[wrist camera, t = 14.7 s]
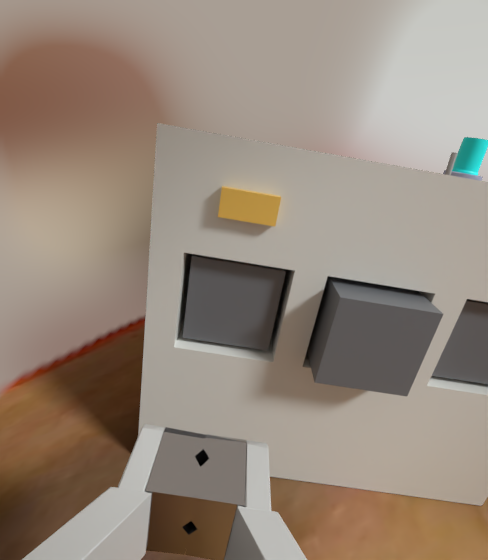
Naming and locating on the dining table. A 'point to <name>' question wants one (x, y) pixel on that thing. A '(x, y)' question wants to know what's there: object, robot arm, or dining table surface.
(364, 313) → the key middle
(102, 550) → the robot arm
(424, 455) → the key panel
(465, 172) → the spray bottle
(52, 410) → the dining table surface
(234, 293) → the key
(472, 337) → the key
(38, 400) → the dining table surface
